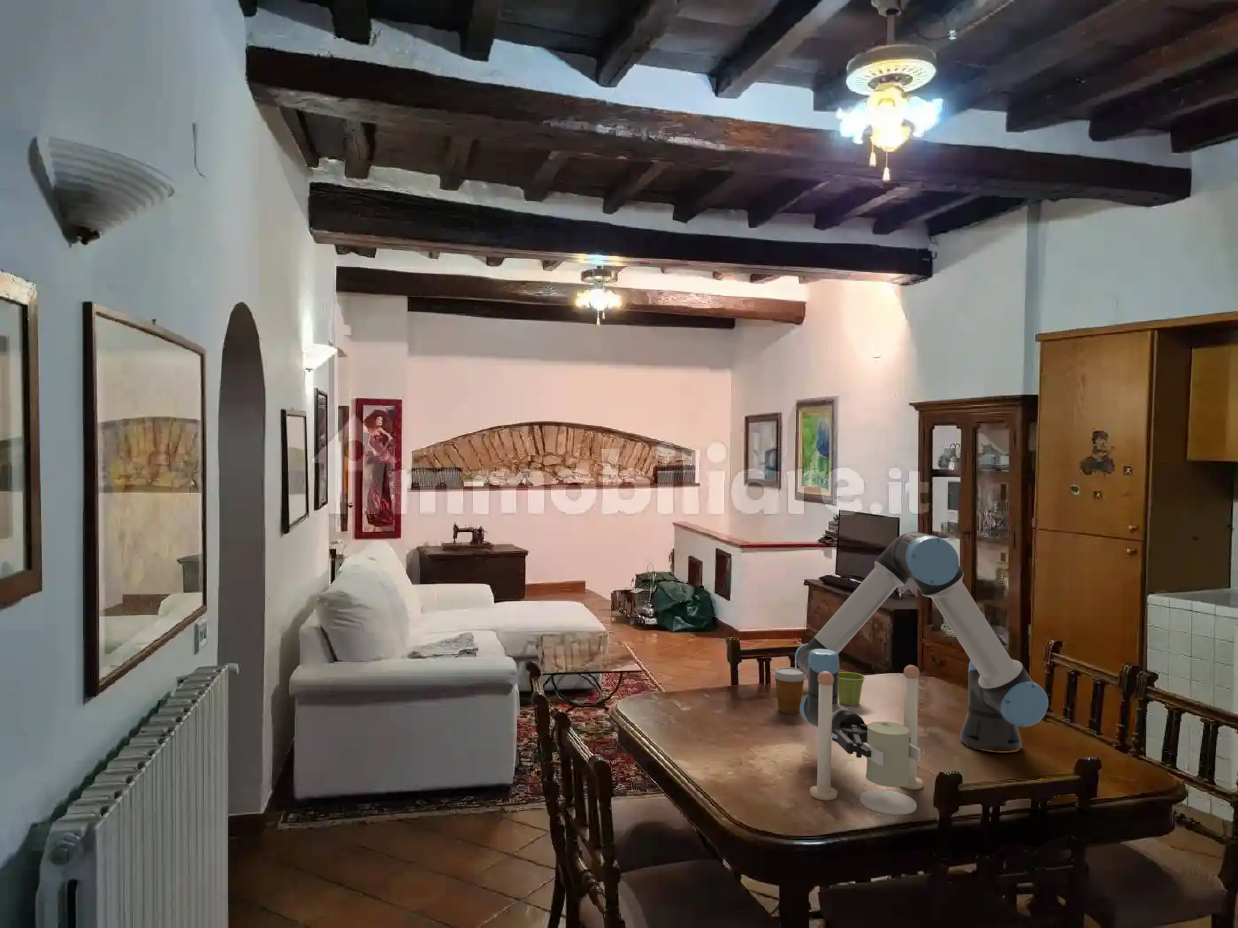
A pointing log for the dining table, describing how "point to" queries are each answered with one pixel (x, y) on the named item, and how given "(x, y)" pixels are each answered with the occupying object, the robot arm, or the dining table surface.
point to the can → (889, 754)
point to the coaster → (888, 802)
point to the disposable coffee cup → (789, 689)
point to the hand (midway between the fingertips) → (900, 757)
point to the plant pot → (850, 688)
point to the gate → (825, 732)
